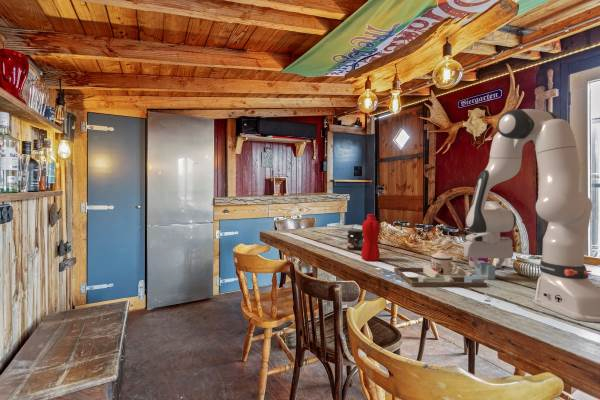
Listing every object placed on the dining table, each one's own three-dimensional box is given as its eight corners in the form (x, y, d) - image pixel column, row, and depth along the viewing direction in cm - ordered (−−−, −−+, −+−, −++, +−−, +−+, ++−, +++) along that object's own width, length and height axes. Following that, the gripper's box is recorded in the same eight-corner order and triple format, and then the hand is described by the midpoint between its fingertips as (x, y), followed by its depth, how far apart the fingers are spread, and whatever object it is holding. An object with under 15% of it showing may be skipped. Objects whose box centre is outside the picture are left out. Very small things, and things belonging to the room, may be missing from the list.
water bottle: (384, 261, 169) (384, 214, 168) (363, 261, 169) (364, 214, 168) (379, 257, 178) (380, 213, 177) (360, 257, 179) (361, 213, 178)
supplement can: (490, 269, 154) (491, 239, 154) (471, 268, 156) (472, 238, 155) (484, 265, 162) (485, 236, 162) (466, 264, 164) (467, 235, 163)
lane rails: (486, 287, 127) (486, 283, 127) (411, 286, 127) (412, 282, 127) (457, 271, 150) (457, 268, 150) (394, 271, 150) (394, 267, 150)
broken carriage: (485, 286, 128) (485, 279, 128) (423, 285, 128) (423, 279, 128) (477, 282, 134) (477, 275, 133) (418, 281, 133) (418, 275, 133)
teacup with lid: (425, 274, 145) (426, 249, 144) (439, 272, 149) (440, 247, 148) (448, 281, 134) (449, 254, 134) (462, 278, 138) (463, 252, 138)
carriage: (497, 280, 135) (498, 267, 135) (435, 280, 135) (435, 266, 135) (479, 272, 149) (479, 259, 149) (422, 272, 149) (423, 259, 149)
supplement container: (343, 248, 205) (343, 229, 205) (357, 247, 210) (357, 229, 209) (352, 251, 196) (353, 232, 195) (366, 250, 200) (367, 231, 200)
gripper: (507, 236, 144) (507, 266, 144) (462, 236, 145) (461, 266, 145) (516, 237, 138) (516, 269, 138) (468, 237, 138) (468, 269, 139)
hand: (488, 267), depth 142 cm, fingers open, 8 cm apart
